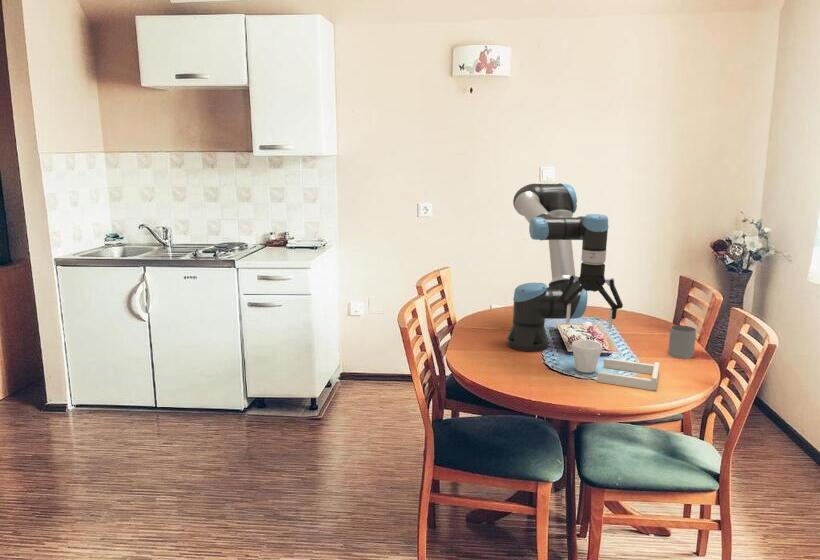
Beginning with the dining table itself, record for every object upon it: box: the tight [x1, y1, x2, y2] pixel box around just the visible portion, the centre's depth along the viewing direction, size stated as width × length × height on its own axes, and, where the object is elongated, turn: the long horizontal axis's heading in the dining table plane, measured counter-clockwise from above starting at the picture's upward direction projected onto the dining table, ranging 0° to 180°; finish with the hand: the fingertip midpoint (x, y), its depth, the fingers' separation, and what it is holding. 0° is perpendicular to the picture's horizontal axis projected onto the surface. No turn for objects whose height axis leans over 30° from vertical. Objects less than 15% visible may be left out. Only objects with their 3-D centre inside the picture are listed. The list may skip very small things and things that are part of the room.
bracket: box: [597, 357, 660, 391], centre depth 209 cm, size 18×16×4 cm
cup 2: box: [667, 324, 697, 359], centre depth 231 cm, size 8×8×10 cm
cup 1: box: [571, 339, 604, 374], centre depth 214 cm, size 10×10×9 cm
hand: (588, 325), depth 212 cm, fingers open, 13 cm apart
